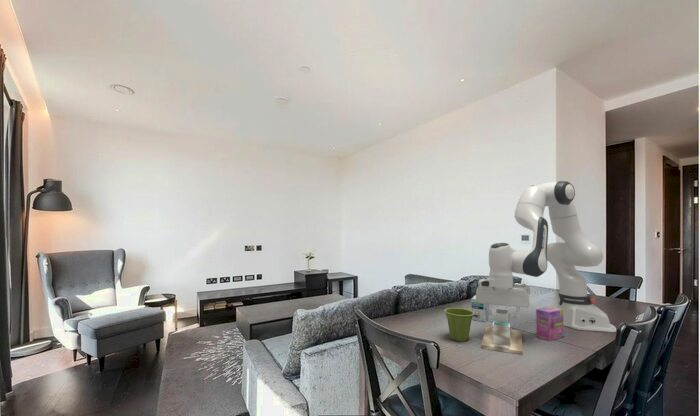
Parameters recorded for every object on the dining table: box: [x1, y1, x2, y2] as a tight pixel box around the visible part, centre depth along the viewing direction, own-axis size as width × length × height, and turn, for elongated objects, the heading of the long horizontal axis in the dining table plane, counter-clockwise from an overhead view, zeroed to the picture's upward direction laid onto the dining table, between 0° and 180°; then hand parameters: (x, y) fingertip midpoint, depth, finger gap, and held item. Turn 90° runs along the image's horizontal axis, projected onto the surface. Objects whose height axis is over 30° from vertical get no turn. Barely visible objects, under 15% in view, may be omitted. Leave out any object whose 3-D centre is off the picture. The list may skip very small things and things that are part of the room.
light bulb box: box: [470, 294, 490, 323], centre depth 162 cm, size 11×7×11 cm, turn 147°
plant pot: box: [444, 307, 474, 342], centre depth 132 cm, size 12×12×11 cm
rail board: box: [480, 312, 524, 356], centre depth 130 cm, size 14×26×9 cm, turn 153°
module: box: [495, 308, 509, 323], centre depth 130 cm, size 4×7×10 cm, turn 152°
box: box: [535, 305, 565, 342], centre depth 134 cm, size 10×6×12 cm, turn 118°
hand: (502, 316), depth 130 cm, fingers open, 8 cm apart
